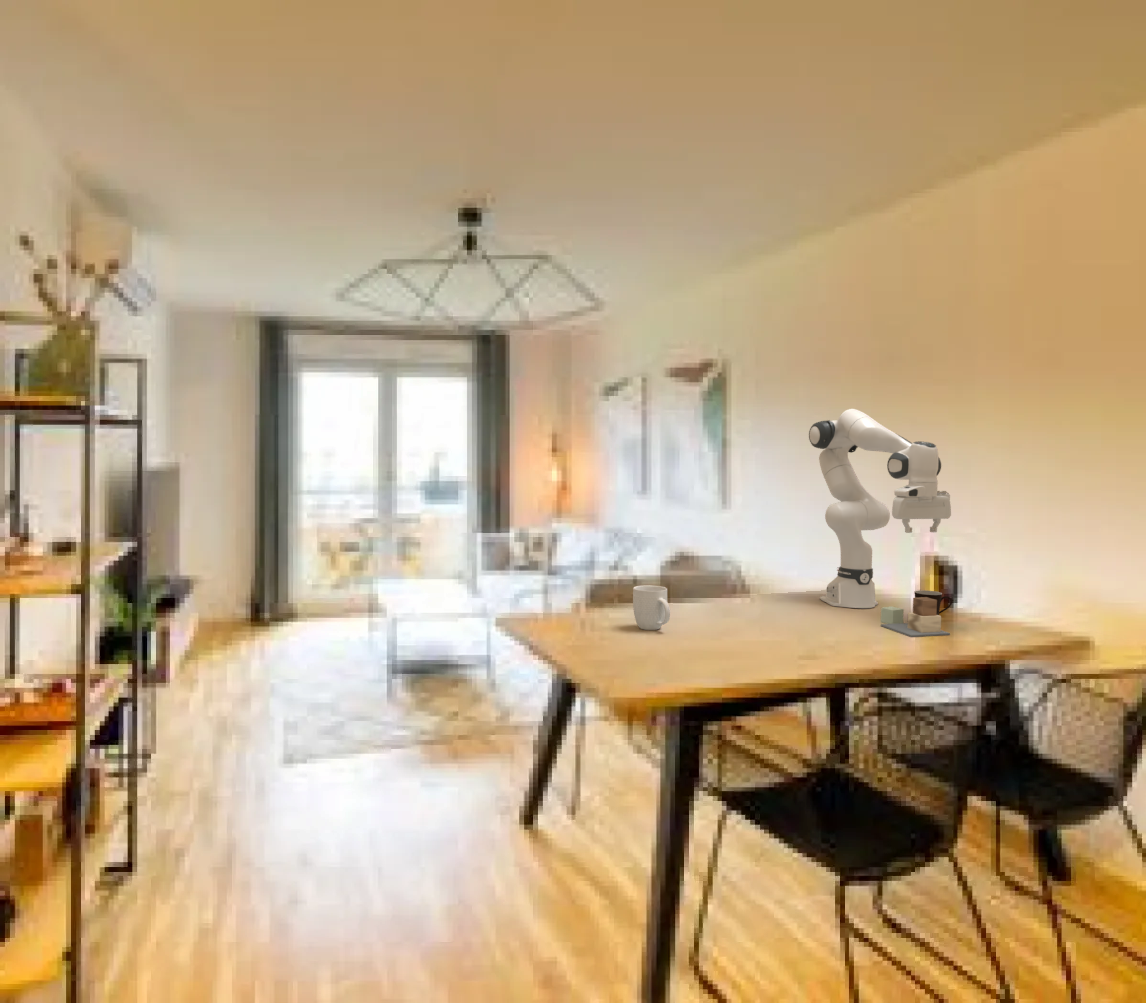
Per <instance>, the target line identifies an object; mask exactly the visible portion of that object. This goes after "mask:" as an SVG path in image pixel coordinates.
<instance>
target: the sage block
mask: <svg viewBox="0 0 1146 1003" xmlns="http://www.w3.org/2000/svg"><path fill="white" fill-rule="evenodd" d="M904 611H905V609H904V608H900V607H896V606H883V607H881V608H880V623H881V624H898V623H904Z"/></svg>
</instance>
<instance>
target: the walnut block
mask: <svg viewBox="0 0 1146 1003" xmlns="http://www.w3.org/2000/svg"><path fill="white" fill-rule="evenodd" d="M912 612H913V613H914V614H917V615H920V616H936V613H937V600H935V599H931V598H928V597H920V598H915V597H913V598H912Z"/></svg>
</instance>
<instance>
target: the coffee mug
mask: <svg viewBox="0 0 1146 1003" xmlns="http://www.w3.org/2000/svg"><path fill="white" fill-rule="evenodd" d="M920 597H928V598H931V599H935V600H937V613H936V615H939V616H940V614H941V613H944V612H945V611H947V610H948V609H949V608H950V607H951V606H952V605H953V600H952V598H951V597H949V596H943V593H942V592H939V591H935V590H922V589H921V590H920V589H919V590H915V591H914V598H920ZM944 599H948V600H949V602H950V603H949V604H948V605H947V606H946V607H945V608H943V609H941V610H940V607H941V603H942V601H943V600H944Z"/></svg>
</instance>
